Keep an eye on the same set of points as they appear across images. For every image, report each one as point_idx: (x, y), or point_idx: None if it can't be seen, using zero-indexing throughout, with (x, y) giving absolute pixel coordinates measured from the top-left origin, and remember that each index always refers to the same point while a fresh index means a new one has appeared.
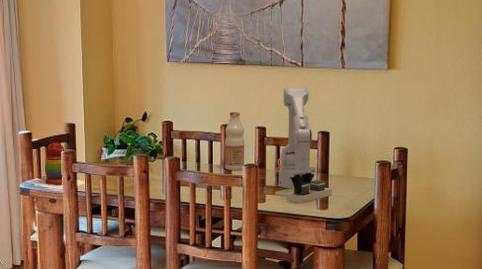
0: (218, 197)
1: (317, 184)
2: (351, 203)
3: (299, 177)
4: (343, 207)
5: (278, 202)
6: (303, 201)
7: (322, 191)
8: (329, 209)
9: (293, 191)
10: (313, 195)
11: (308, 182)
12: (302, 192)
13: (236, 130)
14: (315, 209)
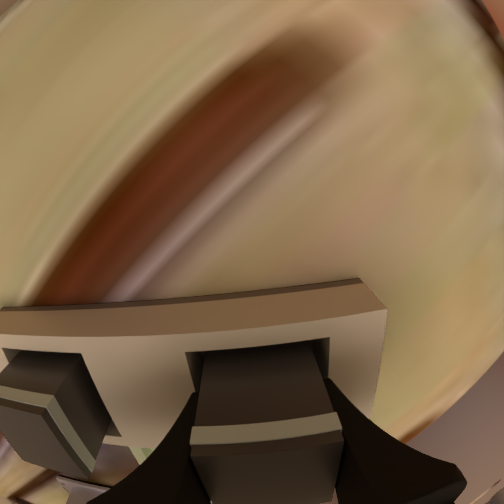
0: None
1: (54, 411)
2: (9, 81)
3: (439, 502)
4: (135, 3)
5: (393, 396)
6: (326, 292)
7: (47, 336)
8: (281, 15)
9: None
10: (174, 323)
11: (194, 463)
12: (317, 370)
13: None
14: (377, 90)
